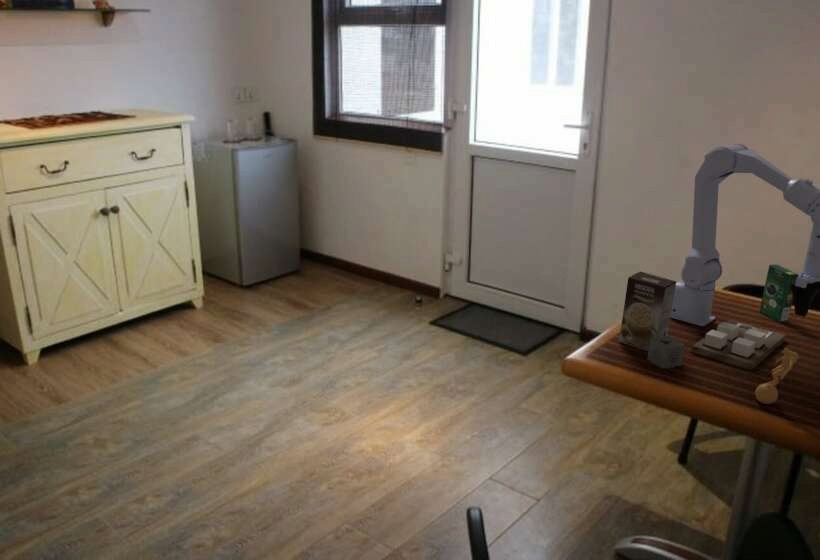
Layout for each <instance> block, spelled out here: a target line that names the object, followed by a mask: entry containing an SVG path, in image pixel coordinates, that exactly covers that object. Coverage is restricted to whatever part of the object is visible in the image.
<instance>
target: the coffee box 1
mask: <svg viewBox="0 0 820 560" xmlns="http://www.w3.org/2000/svg"><path fill="white" fill-rule="evenodd" d="M676 283H677V280H672V279H669V278H666V277H662V276H658V275H655V274H652V273H647V272H643V271H638V272H636V273H633V274H632V275H631V276H628V277H627V285H626V289H625V291H626V292H625V299H624V304H623V306H624V307H623V313H622V320H621V326H620V333H619V339H618V342H619V343H622V344H625V345H628V346H630V347H633V348H637V349H640V350H642V351H645V352H647V353H648V352H649V345H650V339H655V338H661V337H667V336H668V332H669V327H670V321H671V317H670V316H671V310H672V304H673V298H674V292H675V286H676Z"/></svg>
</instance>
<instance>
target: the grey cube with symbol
mask: <svg viewBox="0 0 820 560" xmlns="http://www.w3.org/2000/svg"><path fill="white" fill-rule="evenodd" d="M684 350H685V344H684V343H682V342H680V341H679V340H676V339H674V338H673V337H671V336H668V335H667V337H661V338H655V339H650V345H649V352H648V351H647V359H646V360H647V361H648V360H649V361H648V362H650V361H651V362H650V363H652V364H653V363H654V365H655V364H656V365H655V366H657V365H658V366H657V367H659V368H660V367H661V368H660V369H662V368H663V369H662V370H665V369H664V368H667V369H670V368H671V367H672V368H676V366H678V367H682V363H683V357H684V352H685V351H684Z"/></svg>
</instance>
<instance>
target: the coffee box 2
mask: <svg viewBox="0 0 820 560" xmlns="http://www.w3.org/2000/svg"><path fill="white" fill-rule="evenodd" d="M799 276H800V274H798V273H797V272H794V271H793V270H789V269H787V268H785V267H783V266H781V265H780V264H770V265H768V271H767V273H766V280H765V282H764V283H765V284H764V289H763V293H762V296H761V297H762V298H761V302H760V307H759V312H761V314H763V315H765V316H767V317H769V318H770V319H773V320H774V321H776V322H779V323H786V322H785V321H789V318H790V314H791V309H792V305H793V303H794V297H793V293H792V290H791V288H790V284H791V282H794V281H795V282H796V279H797V277H799Z"/></svg>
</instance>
